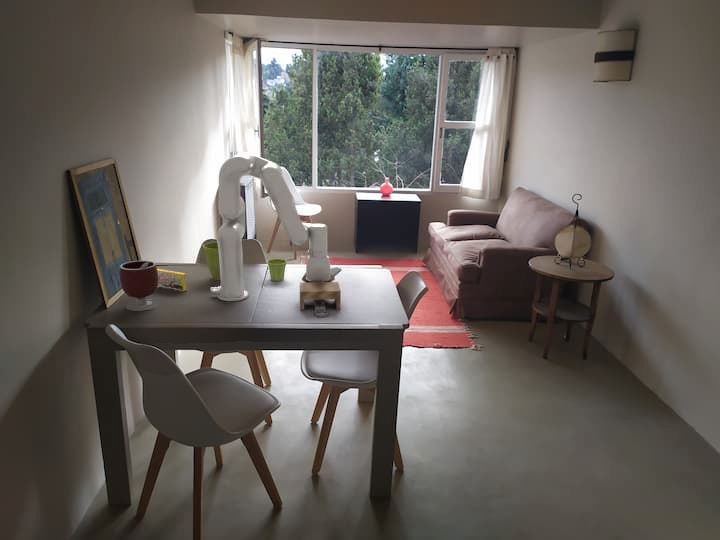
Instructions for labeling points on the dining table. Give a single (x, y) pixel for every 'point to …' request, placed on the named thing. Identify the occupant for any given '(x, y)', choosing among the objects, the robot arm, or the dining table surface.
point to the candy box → (171, 279)
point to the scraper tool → (319, 303)
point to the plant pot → (277, 268)
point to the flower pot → (212, 258)
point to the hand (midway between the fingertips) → (318, 294)
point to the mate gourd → (139, 280)
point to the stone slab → (334, 270)
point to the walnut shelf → (320, 292)
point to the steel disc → (321, 313)
